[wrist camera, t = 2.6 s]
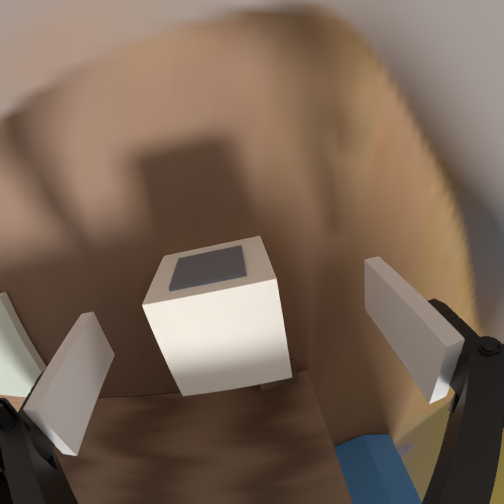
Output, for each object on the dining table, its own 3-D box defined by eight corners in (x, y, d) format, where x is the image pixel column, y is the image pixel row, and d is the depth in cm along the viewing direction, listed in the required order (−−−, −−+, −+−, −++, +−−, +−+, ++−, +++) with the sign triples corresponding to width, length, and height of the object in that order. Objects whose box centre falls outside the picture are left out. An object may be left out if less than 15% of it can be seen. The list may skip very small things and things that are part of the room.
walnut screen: (71, 419, 19) (37, 522, 9) (47, 387, 18) (-1, 495, 8) (309, 395, 20) (352, 530, 10) (305, 356, 18) (360, 511, 8)
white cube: (190, 333, 17) (182, 396, 12) (163, 252, 15) (140, 301, 11) (274, 317, 17) (292, 377, 13) (259, 232, 15) (275, 274, 11)
